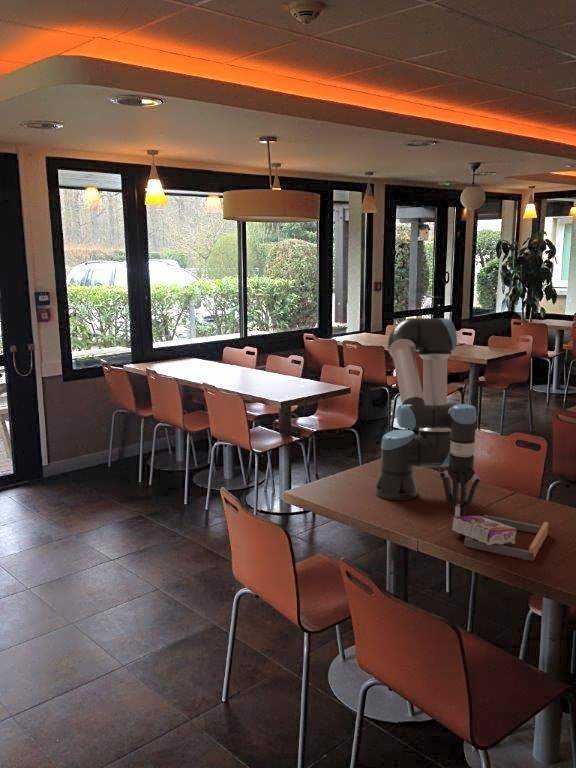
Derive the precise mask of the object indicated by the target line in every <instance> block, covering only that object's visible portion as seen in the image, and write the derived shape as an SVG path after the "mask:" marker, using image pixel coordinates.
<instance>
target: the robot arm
mask: <svg viewBox="0 0 576 768" xmlns="http://www.w3.org/2000/svg"><path fill="white" fill-rule="evenodd" d="M457 337H458V336H457V330H456V327H455V324H454V322H453V321H452V320H451V319H449V318H443V317H441V318H440V317H437V318H436V317H435V318H434V317H432V318H431V317H430V318H429V317H428V318H427V317H426V318H425V317H423V318H420V317H419V318H417V317H416V318H415V317H414V318H413V317H410V318H405V319H403V320H401V321H400V322H399V323H398V324H396V325H395V326H394V328H393V329H392V330H391V332H390V334H389V336H388V339H387V340H388V341H387V347H388V353H389V355H390V356H391V357H392V358H393V359H392V360H393V365H394V369H395V375H396V380H397V385H398V391H399V397H400V401H401V405H398V407H397V410H396V419H397V420H396V421H397V424H398V427H400V428H402V429H396V430H390V431H388V432H386V433H385V434H384V435H383V436H382V438H381V446H380V447H381V457H380V458H381V459H380V460H381V461H380V474H379V476H378V479H377V482H376V485H375V494H376V496H377V497H380V498H381V499H385V500H390V501H408V500H409V501H410V500H412V499H414V498H416V497H417V496H418V487H417V485H416V481H415V477H414V467H415V468H416V467H417V468H418V467H419V468H420V467H421V468H422V467H425V468H426V467H431V468H433V467H435V468H436V467H437V468H441V467H447V469H446V470H443V471H442V472H440V473H439V476H440V477H441V480H442V482H443V489H444V492H445V499H446V500H445V501H446V503H449V504H451V505H452V507H451V508H452V509H451V511H452V512H451V514H452V515H454V517H456V516H466V507H470V506H471V505H472V503H473V501H474V497H475V494H476V491H477V488H478V485H479V483H480V482H481V481H482V480H483V479H482V477H480V476H478V475H476V473H475V469H474V467H475V466H474V465H475V464H474V462H475V461H474V460H475V456H474V454H475V450H476V449H475V448H476V446H475V444H476V429H477V420H478V419H477V418H478V417H477V408H476V406H474V405H472V404H471V405H470V404H466V403H455V402H448V359H449V358H450V357H451V356H452V351H455V350H456V348H457V343H458V338H457ZM416 351H418V356H419V357H420V358H421V359H422V363H423V364H422V383H421V378H420V373H419V370H418V364H417V360H416V355H415V352H416ZM410 429H418V434H415V432H414V431H413V430H410ZM450 478H451V480H452V487H451V483H450ZM471 479H472V480H471ZM470 480H471V481H472V482H473V483H472V484H471V487H470V491H469V493H468V485H469V484H468V483H469V481H470ZM459 490H460V491H459ZM459 493H460V500H459ZM467 493H468V494H467ZM467 496H468V497H467ZM459 501H460V502H459Z"/></svg>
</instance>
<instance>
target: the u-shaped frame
mask: <svg viewBox="0 0 576 768" xmlns="http://www.w3.org/2000/svg"><path fill="white" fill-rule="evenodd" d="M482 517H484V518H487V519H490V520H493V521H496V522H499V523H502V524H505V525H507V526H510V527H513V528H516V529H517V531H520V532H521V531H522V532H527V533H532V534H535V537H534V538H533V540H532V541H531V543H530V545H529V547H528V550H526V549H523V548H517V547H513V546H508V545H505V544H502V545H486V544H484V543H482V542H479V541H476V540H474V539H471V538H469V537H466V536H465V538H464V545H463V546H464V547H467V548H471V549H476V550H479V551H480V550H481V551H485V552H490V553H494V554H498V555H504V556H507V557H511V556H512V557H513V558H516V557H517V558H516V559H520V558H521V559H520V560H525V561H529V560H530V561H531V562H534V560H535V558H536V556H537V554H538V552H539V551H540V549H539V548H541V547H542V545H543V544H544V542H543V541H545V539H546V538H547V536H548V533H549V532H548V530H549V522H548V521H547V522H546V521H544V522H543V524H542V525H539V524H538V525H537V524H532V523H528V522H522V521H519V520H512V519H507V518H503V517H497V516H493V515H487V514H484V515H483V516H482ZM538 550H539V551H538Z"/></svg>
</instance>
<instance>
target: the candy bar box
mask: <svg viewBox="0 0 576 768" xmlns="http://www.w3.org/2000/svg"><path fill="white" fill-rule="evenodd" d="M451 531H452V532H453V533H456V534H459V535H462V536H464V537H465V538H466V537H467V538H471V539H474V540H476V541H479V542H482V543H484V544H486V545H515V544H516V540H517V539H516V538H517V533H518V530H517V529H516V528H513V527H510V526H507V525H505V524H502V523H499V522H496V521H493V520H490V519H487V518H484V517H483V516H482V515H464V516H456V517H455V516H453V518H452V527H451Z"/></svg>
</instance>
